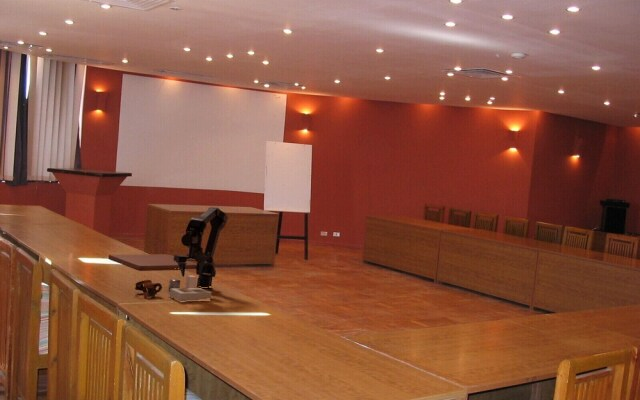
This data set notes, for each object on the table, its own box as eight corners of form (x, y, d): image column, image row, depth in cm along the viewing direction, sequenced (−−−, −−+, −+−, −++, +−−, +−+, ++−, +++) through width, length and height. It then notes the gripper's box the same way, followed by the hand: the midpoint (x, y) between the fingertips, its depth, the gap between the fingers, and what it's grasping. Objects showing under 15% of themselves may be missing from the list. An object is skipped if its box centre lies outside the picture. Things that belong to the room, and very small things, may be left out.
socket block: (199, 296, 331) (200, 288, 330) (210, 301, 323) (211, 292, 323) (169, 297, 320) (170, 288, 320) (179, 302, 313) (180, 293, 313)
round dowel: (175, 291, 335) (177, 278, 335) (180, 293, 331) (182, 281, 331) (166, 291, 332) (167, 279, 332) (171, 293, 328) (172, 281, 328)
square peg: (190, 291, 338) (192, 275, 338) (194, 293, 336) (196, 276, 336) (184, 291, 336) (186, 275, 336) (188, 293, 334) (190, 276, 333)
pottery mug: (138, 299, 311) (134, 281, 313) (136, 304, 319) (132, 286, 321) (164, 293, 315) (161, 276, 318) (162, 298, 324) (158, 281, 326)
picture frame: (108, 259, 399) (138, 271, 376) (108, 254, 399) (139, 265, 376) (167, 259, 428) (199, 269, 405) (168, 254, 428) (200, 264, 405)
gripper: (186, 247, 323) (182, 280, 324) (220, 247, 335) (217, 279, 336) (174, 242, 331) (171, 275, 332) (209, 243, 343) (205, 274, 344)
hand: (191, 276), depth 336 cm, fingers open, 9 cm apart
